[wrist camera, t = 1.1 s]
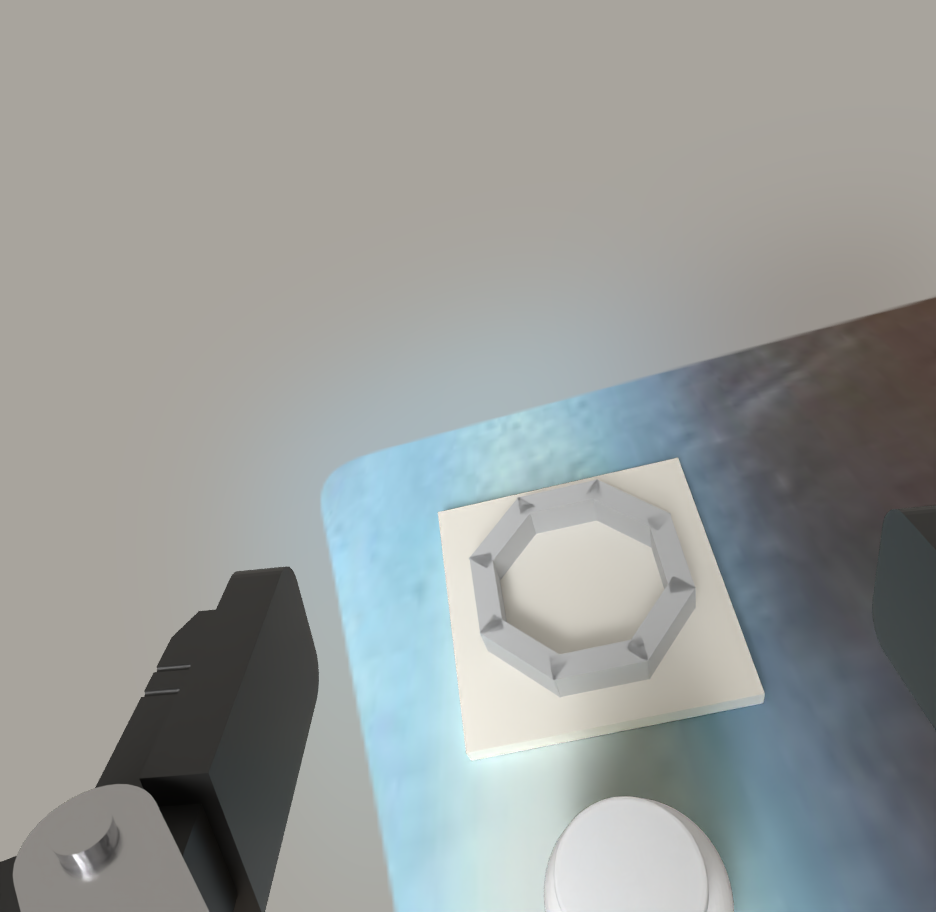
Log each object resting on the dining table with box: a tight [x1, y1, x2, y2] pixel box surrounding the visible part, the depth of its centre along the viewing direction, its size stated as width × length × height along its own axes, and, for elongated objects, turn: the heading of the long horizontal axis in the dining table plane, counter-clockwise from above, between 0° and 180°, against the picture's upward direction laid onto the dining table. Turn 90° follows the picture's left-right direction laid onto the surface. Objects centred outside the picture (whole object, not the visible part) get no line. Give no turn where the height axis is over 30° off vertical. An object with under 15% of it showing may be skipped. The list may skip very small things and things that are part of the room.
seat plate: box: [438, 458, 765, 761], centre depth 36 cm, size 12×12×3 cm
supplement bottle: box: [544, 796, 734, 912], centre depth 25 cm, size 5×5×10 cm
